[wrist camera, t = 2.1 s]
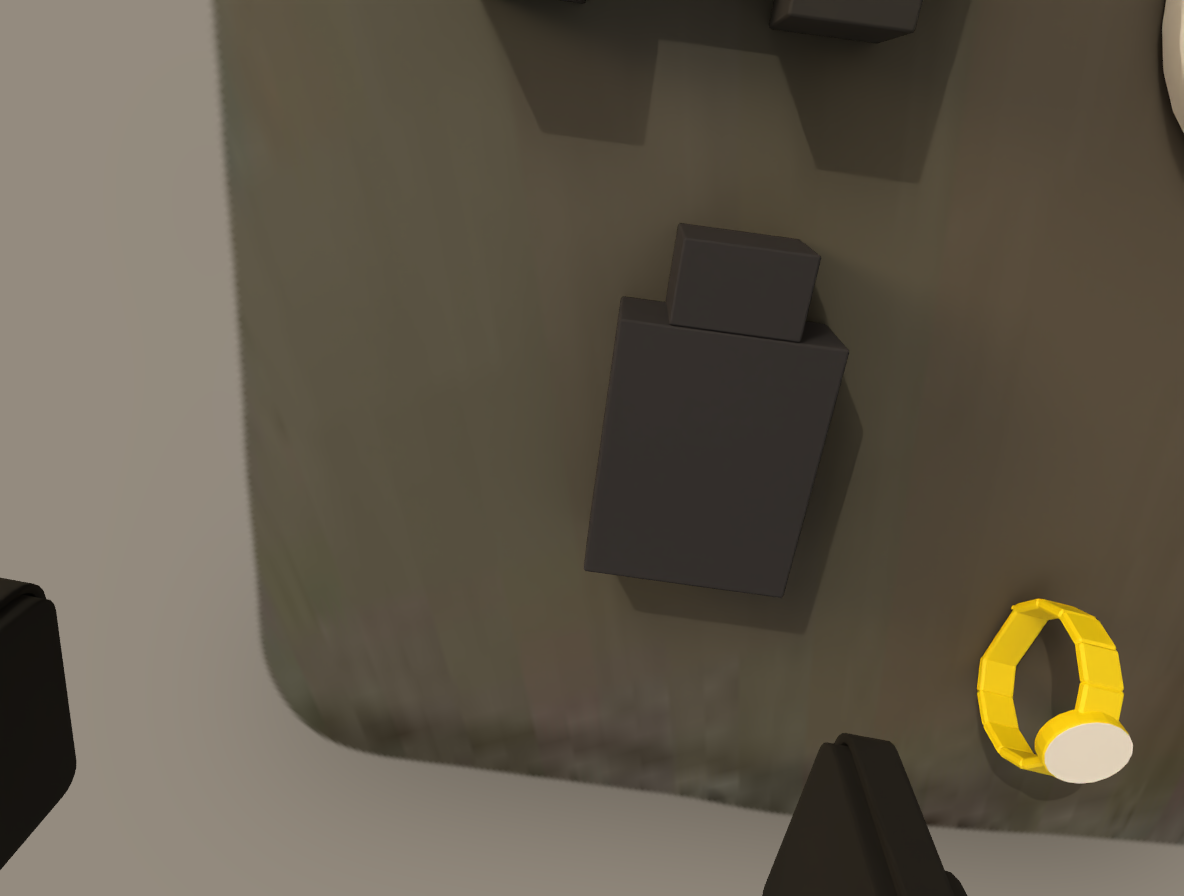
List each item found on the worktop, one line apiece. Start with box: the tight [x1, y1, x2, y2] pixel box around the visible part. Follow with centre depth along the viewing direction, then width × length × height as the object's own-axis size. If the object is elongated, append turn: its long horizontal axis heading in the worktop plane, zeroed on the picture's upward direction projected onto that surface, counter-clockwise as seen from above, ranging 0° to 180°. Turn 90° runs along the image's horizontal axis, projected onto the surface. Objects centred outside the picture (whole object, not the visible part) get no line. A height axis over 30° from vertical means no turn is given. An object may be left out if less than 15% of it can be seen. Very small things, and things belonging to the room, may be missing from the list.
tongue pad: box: [584, 223, 849, 598], centre depth 26 cm, size 7×12×3 cm, turn 173°
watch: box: [977, 599, 1133, 784], centre depth 28 cm, size 6×3×6 cm, turn 166°
